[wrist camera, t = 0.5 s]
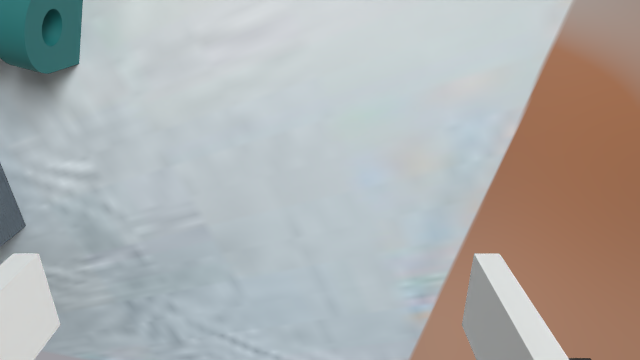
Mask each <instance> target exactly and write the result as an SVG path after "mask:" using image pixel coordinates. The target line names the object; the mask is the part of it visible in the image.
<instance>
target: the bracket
mask: <svg viewBox="0 0 640 360" xmlns="http://www.w3.org/2000/svg"><path fill="white" fill-rule="evenodd" d="M82 3H83V0H0V58H1V59H2V60H3V61H4V62H6V63H8V64H10V65H14V66H17V67H21V68H25V69H29V70H33V71H36V72H40V73H45V74H48V73H52V72H55V71H58V70H61V69H64V68H67V67H71V66H74V65H77V64H79V55H80V38H81V20H82Z"/></svg>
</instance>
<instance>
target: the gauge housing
mask: <svg viewBox="0 0 640 360" xmlns="http://www.w3.org/2000/svg"><path fill="white" fill-rule="evenodd" d="M25 226H26V225H25V223H24V220H23V218H22V215H21V213H20V210H19V208H18V206H17V203H16V201H15V198H14V196H13V193H12V191H11V188H10V186H9V183H8V181H7V179H6V176H5V174H4V171H3V169H2V166H1V164H0V246H2V245H3V244H4V243H5V242H6V241H8V240H9V239H10V238H11V237H13V236H14V235H15V234H16V233H17V232H19V231H20V230H21V229H22V228H24V227H25Z"/></svg>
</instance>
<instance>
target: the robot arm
mask: <svg viewBox="0 0 640 360" xmlns="http://www.w3.org/2000/svg"><path fill="white" fill-rule="evenodd" d="M59 326H60V321H59V318H58V315H57V312H56V308H55V305H54V302H53V298H52V295H51V292H50V289H49V285H48V282H47V279H46V276H45V272H44V269H43V266H42V262H41V259H40V256H39V253H13V254H12V255H11V256H10V257H9V258H8V259H7V260H5V261H4V262H3V263H2V264H1V265H0V360H34V359H35V358H36V357H37V355H38V354H39V353H40V351H41V350H42V349H43V347H44V346H45V345H46V343H47V342H48V341H49V339H50V338H51V337H52V335H53V334H54V333H55V331H56V330H57V329H58V327H59ZM462 326H463V328H464V331H465V333H466V336H467V338H468V341H469V343H470V345H471V348H472V350H473V353H474V355H475V358H476V360H591V359H590V358H568V357H567V356H566V354H565V353H564V351H563V350H562V348H561V347H560V345H559V344H558V342H557V340H556V339H555V337H554V336H553V335H552V333H551V331H550V330H549V328H548V327H547V326H546V324H545V322H544V321H543V319H542V318H541V316H540V315H539V313H538V312H537V310H536V309H535V307H534V306H533V304H532V302H531V301H530V299H529V298H528V296H527V295H526V293H525V292H524V290H523V289H522V287H521V286H520V284H519V283H518V281H517V280H516V278H515V277H514V275H513V274H512V272H511V271H510V269H509V268H508V266H507V265H506V263H505V261H504V260H503V258H502V257H501V255H500V254H474V257H473V263H472V270H471V275H470V281H469V287H468V293H467V299H466V305H465V310H464V316H463V323H462Z"/></svg>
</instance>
